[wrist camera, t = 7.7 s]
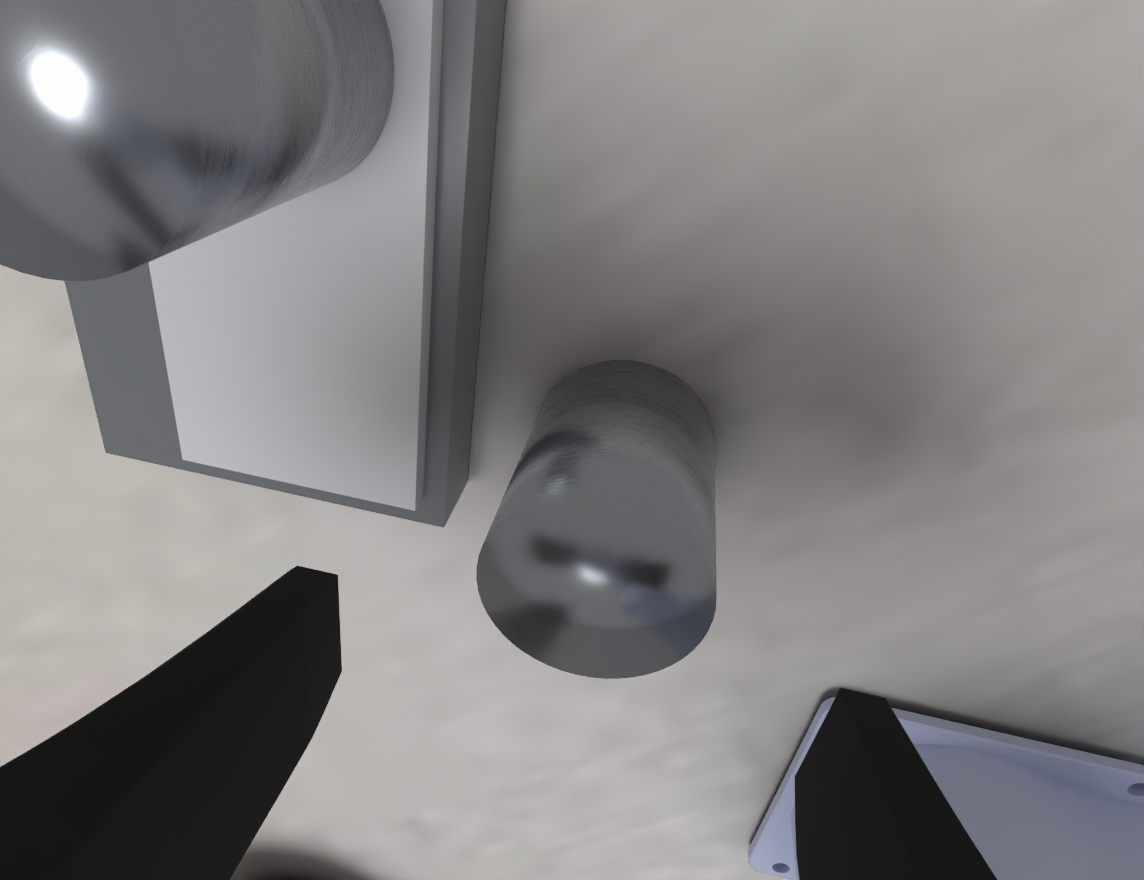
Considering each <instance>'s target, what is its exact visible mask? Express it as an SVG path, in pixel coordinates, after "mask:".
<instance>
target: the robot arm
mask: <svg viewBox="0 0 1144 880" xmlns="http://www.w3.org/2000/svg"><path fill="white" fill-rule="evenodd" d="M341 671H342V666H341V642H340V619H339V595H338V575H336V574H332V573H327V572H323V571H318V570H314V569H309V568H305V567H300V566H296V567H295V568H293V569H291V570H290V571H288V572H287V573H286V574H284V575H283V576H282V577H280V578H279V579H278V580H276V581H275V582H274V583H272V584H271V585H270V586H268V587H267V588H266V589H264V590H263V591H262V592H260V593H259V594H258V595H256V596H255V597H254V598H252V599H251V600H250V601H249V602H247V603H246V604H245V605H243V606H242V607H241V608H239V609H238V610H237V611H235V612H234V613H233V614H231V615H230V616H228V617H227V618H226V619H224V620H223V621H222V622H220V623H219V624H218V625H216V626H215V627H214V628H212V629H211V630H210V631H208V632H207V633H206V634H204V635H203V636H201V637H200V638H199V639H197V640H196V641H194V642H193V643H191V644H190V645H189V646H187V647H186V648H184V649H183V650H182V651H180V652H179V653H177V654H176V655H175V656H173V657H172V658H170V659H169V660H168V661H166V662H165V663H163V664H162V665H161V666H159V667H158V668H156V669H155V670H153V671H152V672H151V673H149V674H148V675H146V676H145V677H143V678H142V679H140V680H139V681H137V682H136V683H134V684H133V685H131V686H130V687H128V688H127V689H125V690H124V691H122V692H121V693H119V694H118V695H116V696H114V697H113V698H111V699H110V700H108V701H107V702H105V703H104V704H102V705H101V706H99V707H98V708H96V709H95V710H93V711H92V712H90V713H89V714H87V715H86V716H84V717H82V718H81V719H79V720H78V721H76V722H75V723H73V724H71V725H70V726H68V727H67V728H65V729H63V730H62V731H60V732H58V733H57V734H55V735H54V736H52V737H50V738H49V739H47V740H45V741H44V742H42V743H40V744H39V745H37V746H35V747H34V748H32V749H30V750H29V751H27V752H25V753H24V754H22V755H20V756H18V757H17V758H15V759H13V760H12V761H10V762H8V763H6V764H5V765H3V766H1V767H0V880H230V878H231V876H232V874H233V873H234V871H235V869H236V868H237V866H238V864H239V863H240V861H241V859H242V857H243V856H244V854H245V852H246V851H247V849H248V847H249V845H250V844H251V842H252V840H253V839H254V837H255V835H256V834H257V832H258V830H259V828H260V827H261V825H262V823H263V822H264V820H265V818H266V817H267V815H268V813H269V811H270V810H271V808H272V806H273V805H274V803H275V801H276V800H277V798H278V796H279V794H280V793H281V791H282V789H283V788H284V786H285V784H286V782H287V781H288V779H289V777H290V775H291V774H292V772H293V770H294V769H295V767H296V765H297V763H298V762H299V760H300V758H301V756H302V755H303V753H304V751H305V749H306V748H307V746H308V744H309V742H310V741H311V739H312V737H313V735H314V733H315V730H316V728H317V726H318V724H319V722H320V719H321V717H322V715H323V713H324V711H325V708H326V706H327V704H328V702H329V699H330V697H331V695H332V692H333V690H334V688H335V685H336V683H337V681H338V678H339V676H340V674H341ZM748 862H749V864H750V866H751V867H753V868H754V869H755V870H758V871H760V872H764V873H768V874H772V875H776V876H780V877H784V878H788V879H792V880H1144V765H1140V764H1136V763H1132V762H1127V761H1123V760H1119V759H1114V758H1110V757H1105V756H1101V755H1097V754H1092V753H1088V752H1084V751H1079V750H1075V749H1070V748H1066V747H1062V746H1057V745H1053V744H1048V743H1044V742H1040V741H1035V740H1031V739H1027V738H1022V737H1018V736H1013V735H1009V734H1005V733H1000V732H996V731H992V730H987V729H983V728H978V727H974V726H970V725H965V724H961V723H957V722H952V721H948V720H943V719H939V718H935V717H930V716H926V715H922V714H917V713H913V712H908V711H904V710H900V709H895V708H891V707H890V705H889V703H888V702H887V700H886V698H883V697H878V696H874V695H869V694H865V693H861V692H856V691H852V690H847V689H843V688H840V690H839V692H838V694H837V696H836V697H831V698H829V699H827V700H825V701H824V702H823V703H822V704H821V705H820V707H819V709H818V711H817V713H816V715H815V717H814V719H813V721H812V723H811V725H810V727H809V729H808V731H807V733H806V735H805V737H804V739H803V741H802V743H801V745H800V747H799V749H798V751H797V753H796V755H795V757H794V759H793V761H792V763H791V765H790V767H789V769H788V771H787V773H786V775H785V777H784V779H783V781H782V783H781V785H780V787H779V789H778V791H777V793H776V795H775V797H774V799H773V801H772V803H771V805H770V807H769V809H768V811H767V813H766V815H765V817H764V819H763V821H762V823H761V825H760V827H759V829H758V831H757V833H756V835H755V837H754V839H753V841H752V843H751V845H750V847H749V849H748Z"/></svg>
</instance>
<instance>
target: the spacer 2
mask: <svg viewBox="0 0 1144 880" xmlns="http://www.w3.org/2000/svg"><path fill="white" fill-rule="evenodd" d="M477 585H478V591H479V594H480V597H481V601H482V603H483V605H484V607H485V610H486V612H487V614H488V615H489V617H490V618H491V620H492V621H493V623H494V624H495V625H496V627H497V628H498V629H499V630H500V631H501V633H502V634H503V635H504V636H505V637H506V638H508V639H509V640H510V641H511V642H512V643H513V644H514V645H515V646H517V647H518V648H519V649H521V650H522V651H523V652H525V653H527V654H528V655H530V656H531V657H533V658H535V659H537V660H539V661H541V662H543V663H545V664H547V665H549V666H552V667H554V668H557V669H559V670H562V671H566V672H569V673H573V674H577V675H582V676H587V677H595V678H629V677H636V676H641V675H646V674H650V673H653V672H656V671H659V670H662V669H664V668H666V667H668V666H671V665H673V664H674V663H676V662H678V661H679V660H681V659H683V658H684V657H685V656H687V655H688V654H689V653H690V652H692V651H693V650H694V649H695V648H696V646H697V645H698V644H699V643H700V642H701V641H702V639H703V638H704V636H705V635H706V633H707V632H708V630H709V628H710V625H711V623H712V621H713V617H714V613H715V609H716V527H715V449H714V431H713V427H712V423H711V419H710V417H709V414H708V412H707V410H706V408H705V406H704V405H703V403H702V401H701V400H700V398H699V397H698V396H697V395H696V394H695V392H694V391H693V390H692V389H691V388H690V387H689V386H688V385H687V384H686V383H684V382H683V381H682V380H680V379H679V378H677V377H676V376H674V375H673V374H671V373H669V372H667V371H665V370H663V369H661V368H658V367H656V366H653V365H649V364H646V363H642V362H635V361H626V360H614V361H605V362H600V363H596V364H592V365H589V366H586V367H584V368H581V369H579V370H577V371H575V372H574V373H572V374H570V375H569V376H567V377H566V378H565V379H563V380H562V381H561V382H560V383H559V384H558V385H557V386H556V387H555V388H554V389H553V390H552V392H551V393H550V394H549V395H548V397H547V399H546V400H545V402H544V404H543V406H542V408H541V411H540V413H539V415H538V418H537V420H536V422H535V425H534V427H533V430H532V432H531V434H530V437H529V439H528V441H527V444H526V446H525V448H524V451H523V453H522V455H521V458H520V460H519V462H518V465H517V467H516V469H515V472H514V474H513V476H512V479H511V481H510V483H509V486H508V488H507V490H506V493H505V495H504V497H503V500H502V502H501V504H500V507H499V509H498V511H497V514H496V516H495V518H494V521H493V523H492V525H491V528H490V530H489V532H488V535H487V537H486V539H485V542H484V544H483V546H482V549H481V552H480V554H479V558H478V564H477Z"/></svg>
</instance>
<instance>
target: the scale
mask: <svg viewBox="0 0 1144 880" xmlns="http://www.w3.org/2000/svg"><path fill="white" fill-rule="evenodd" d="M379 1H380V3H381V6H382V8H383V11H384V13H385V17H386V21H387V24H388V28H389V32H390V36H391V43H392V49H393V57H394V87H393V96H392V101H391V107H390V111H389V114H388V117H387V120H386V124H385V127H384V129H383V131H382V133H381V135H380V137H379V139H378V141H377V143H376V144H375V146H374V147H373V149H372V150H371V151H370V153H369V154H368V155H367V157H366V158H365V159H364V160H363V161H362V162H361V163H360V164H359V165H358V166H357V167H356V168H354V169H353V170H352V171H350V172H349V173H348V174H346V175H345V176H343V177H341V178H339V179H337V180H336V181H334V182H331V183H329V184H327V185H324V186H322V187H320V188H318V189H315V190H313V191H311V192H308V193H306V194H304V195H301V196H299V197H297V198H295V199H292V200H290V201H288V202H285V203H283V204H281V205H279V206H276V207H274V208H272V209H269V210H267V211H265V212H262V213H260V214H258V215H256V216H253V217H251V218H249V219H246V220H244V221H242V222H240V223H237V224H235V225H233V226H230V227H228V228H226V229H223V230H221V231H219V232H217V233H214V234H212V235H210V236H207V237H205V238H203V239H201V240H198V241H196V242H194V243H191V244H189V245H187V246H184V247H182V248H180V249H178V250H175V251H173V252H171V253H168V254H166V255H164V256H162V257H159V258H157V259H155V260H152V261H150V262H148V263H145V264H143V265H141V266H139V267H136V268H134V269H132V270H129V271H127V272H124V273H121V274H118V275H115V276H112V277H109V278H103V279H97V280H91V281H65V285H66V289H67V293H68V297H69V301H70V305H71V310H72V314H73V318H74V322H75V326H76V330H77V335H78V339H79V343H80V347H81V351H82V355H83V360H84V364H85V368H86V372H87V376H88V380H89V385H90V389H91V393H92V397H93V401H94V406H95V410H96V414H97V418H98V422H99V426H100V431H101V435H102V439H103V443H104V447H105V451H106V453H110V454H114V455H119V456H123V457H128V458H132V459H137V460H141V461H146V462H150V463H155V464H159V465H164V466H168V467H173V468H177V469H182V470H186V471H191V472H195V473H200V474H205V475H209V476H214V477H218V478H223V479H227V480H232V481H236V482H241V483H245V484H250V485H254V486H259V487H263V488H268V489H272V490H277V491H281V492H286V493H290V494H295V495H299V496H304V497H309V498H313V499H318V500H322V501H327V502H331V503H336V504H340V505H345V506H349V507H354V508H358V509H363V510H367V511H372V512H376V513H381V514H385V515H390V516H394V517H399V518H404V519H408V520H413V521H417V522H422V523H426V524H431V525H435V526H440V527H444V526H445V524H446V522H447V520H448V519H449V517H450V515H451V513H452V511H453V509H454V507H455V505H456V503H457V501H458V499H459V497H460V495H461V493H462V491H463V490H464V488H465V486H466V484H467V479H468V466H469V454H470V441H471V429H472V417H473V404H474V392H475V380H476V367H477V355H478V342H479V330H480V318H481V305H482V293H483V281H484V268H485V256H486V243H487V231H488V219H489V206H490V194H491V181H492V169H493V157H494V144H495V132H496V120H497V107H498V95H499V82H500V70H501V58H502V45H503V33H504V21H505V8H506V0H379Z"/></svg>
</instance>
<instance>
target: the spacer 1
mask: <svg viewBox="0 0 1144 880" xmlns="http://www.w3.org/2000/svg"><path fill="white" fill-rule="evenodd" d="M393 87H394V57H393V49H392V43H391V36H390V32H389V28H388V24H387V21H386V17H385V13H384V11H383V8H382V6H381V3H380V1H379V0H0V264H1V265H3V266H6V267H9V268H12V269H14V270H17V271H20V272H22V273H26V274H30V275H34V276H38V277H42V278H47V279H55V280H63V281H91V280H97V279H103V278H109V277H112V276H115V275H118V274H121V273H124V272H127V271H129V270H132V269H134V268H136V267H139V266H141V265H143V264H145V263H148V262H150V261H152V260H155V259H157V258H159V257H162V256H164V255H166V254H168V253H171V252H173V251H175V250H178V249H180V248H182V247H184V246H187V245H189V244H191V243H194V242H196V241H198V240H201V239H203V238H205V237H207V236H210V235H212V234H214V233H217V232H219V231H221V230H223V229H226V228H228V227H230V226H233V225H235V224H237V223H240V222H242V221H244V220H246V219H249V218H251V217H253V216H256V215H258V214H260V213H262V212H265V211H267V210H269V209H272V208H274V207H276V206H279V205H281V204H283V203H285V202H288V201H290V200H292V199H295V198H297V197H299V196H301V195H304V194H306V193H308V192H311V191H313V190H315V189H318V188H320V187H322V186H324V185H327V184H329V183H331V182H334V181H336V180H337V179H339V178H341V177H343V176H345V175H346V174H348V173H349V172H350V171H352V170H353V169H354V168H356V167H357V166H358V165H359V164H360V163H361V162H362V161H363V160H364V159H365V158H366V157H367V155H368V154H369V153H370V151H371V150H372V149H373V147H374V146H375V144H376V143H377V141H378V139H379V137H380V135H381V133H382V131H383V129H384V127H385V124H386V120H387V117H388V114H389V111H390V107H391V101H392V96H393Z"/></svg>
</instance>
